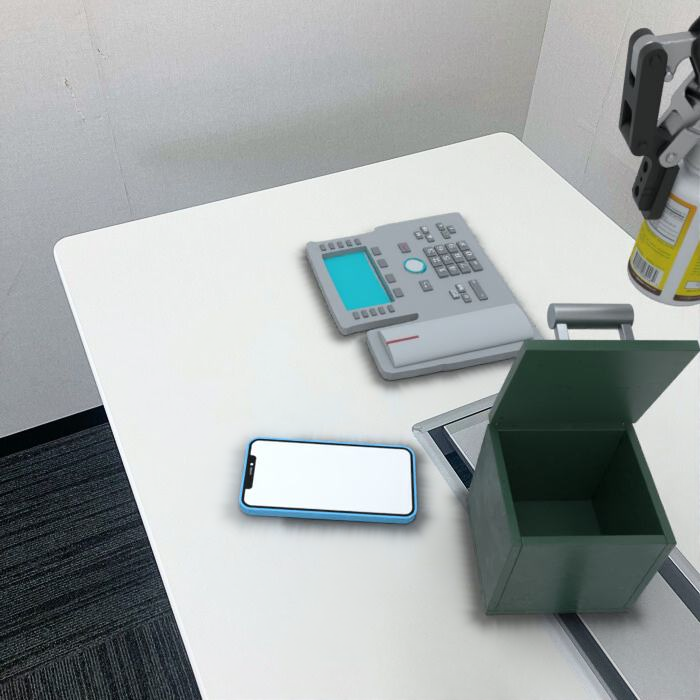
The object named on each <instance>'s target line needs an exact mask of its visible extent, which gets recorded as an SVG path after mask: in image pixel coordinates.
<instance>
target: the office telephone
mask: <svg viewBox="0 0 700 700" xmlns="http://www.w3.org/2000/svg"><path fill="white" fill-rule="evenodd" d="M305 254H306V257H307V260H308V263H309V265H310V267H311V270H312V272H313V274H314V277H315V279H316V282H317V284H318V286H319V289H320V291H321V293H322V296H323V298H324V301H325V303H326V305H327V307H328V310H329V313H330V314H331V317H332V319H333V321H334V323H335V324H336V327H337V329H338V330H339V332H340V334H341V335H343V336H349V335H350V334H354V333H357V332H363V331H367V330H368V331H367V332H366V339H365V340H366V345H367V347H368V350H369V352H370V355H371V357H372V359H373V361H374V363H375V365H376V368H377V370H378V373H379V375H380V376H381V377H382V378H383V379H384V380H389V381H393V380H394V381H396V380H400V379H401V380H402V379H407V378H413V377H419V376H425V375H429V374H434V373H438V372H441V371H443V372H446V371H448V372H449V371H453V370H458V369H464V368H470V367H473V366H479V365H484V364H489V363H494V362H499V361H504V360H509V359H515V358H516V356H517V354H518V352H519V350H520V348H521V346H522V344H523V342H524V340H545V339H544V338H543V336H542V335H541V333H540V332H539V330H538V328H537V327H536V325H535V324H534V322H533V321H532V320H531V318H530V316H529V315H528V314H527V312H526V311H525V309H524V307H522V305H521V303H520V302H519V301H518V299H517V298H516V296H515V295H514V293H513V292H512V290H511V288H509V285H508V284H507V283H506V281H505V280H504V278H503V277H502V275H501V274H500V272H499V271H498V270H497V268H496V266H495V265H494V263H493V262H492V261H491V259H490V258H489V256H488V254H486V252H485V250H484V249H483V247H482V246H481V244H480V243H479V242H478V240H477V239H476V237H475V236H474V234H473V231H472V230H471V228H470V226H469V224H468V223H467V221H466V220H465V218H464V217H463V216H462V215H461V213H460V212H457V211H455V212H454V211H453V212H447V213H442V214H436V215H430V216H426V217H420V218H415V219H414V218H413V219H408V220H402V221H397V222H392V223H386V224H383V225H378V226H377V227H374V229H373V231H370V232H365V233H360V234H355V235H350V236H345V237H339V238H333V239H327V240H320V241H313V240H311V241H308V242H306V244H305Z"/></svg>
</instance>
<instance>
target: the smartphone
mask: <svg viewBox="0 0 700 700" xmlns="http://www.w3.org/2000/svg"><path fill="white" fill-rule="evenodd" d="M242 470H243V471H242V476H241V484H240V490H239V497H238V503H239V508H240V510H241V511H242V512H243V513H244V514H246V515H251V516H265V517H283V518H284V517H285V518H297V519H298V518H299V519H300V518H301V519H316V520H335V521H352V522H367V523H384V524H385V523H387V524H409V523H412V521H414V520H415V518H416V515H417V510H418V501H417V498H418V497H417V476H416V474H417V473H416V454H415V452H414V450H412V449H411V448H410V447H408V446H407V445H396V444H381V443H363V442H349V441H348V442H347V441H334V440H333V441H332V440H315V439H300V438H299V439H298V438H284V437H283V438H282V437H267V436H266V437H265V436H255V437H253V438H251V439H250V440H248V442H247V444H246V450H245V457H244V465H243V469H242Z"/></svg>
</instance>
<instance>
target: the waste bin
mask: <svg viewBox="0 0 700 700" xmlns="http://www.w3.org/2000/svg"><path fill="white" fill-rule="evenodd" d="M468 488H469V489H468V492H467V496H466V499H465V500H466V506H467V513H468V519H469V525H470V530H471V537H472V543H473V550H474V555H475V561H476V566H477V567H476V568H477V572H478V579H479V584H480V591H481V592H480V593H481V597H482V602H483V608H484V609H483V610H484V614H485V615H533V614H534V615H535V614H538V615H540V614H542V615H543V614H545V615H546V614H591V613H592V614H594V613H595V614H596V613H597V614H601V613H629V612H630V611H631V609H632V608H633V607H634V605H635V604H636V602H637V601H638V600H639V598H640V597H641V595H642V594H643V593H644V591H645V589H646V588H647V587H648V586H649V584H650V582H651V581H652V580H653V578H654V577H655V576H656V574H657V573H658V571H659V570H660V568H661V567H662V565H664V563H665V561H666V560H667V558H668V557H669V556H670V554H671V553H672V552H673V550H674V549H675V547H676V546H677V544H678V542H677V539H676V536H675V534H674V531H673V529H672V525H671V523H670V521H669V518H668V515H667V513H666V510H665V507H664V504H663V501H662V499H661V496H660V494H659V491H658V488H657V485H656V483H655V480H654V478H653V475H652V472H651V469H650V466H649V464H648V461H647V459H646V456H645V454H644V451H643V447H642V446H641V443H640V440H639V438H638V435H637V432H636V429H635V427H634V423H630V424H489V423H487V425H486V428H485V432H484V434H483V439H482V443H481V446H480V449H479V453H478V456H477V460H476V464H475V467H474V471H473V475H472V478H471V481H470V484H469V487H468Z"/></svg>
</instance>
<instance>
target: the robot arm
mask: <svg viewBox="0 0 700 700" xmlns="http://www.w3.org/2000/svg"><path fill="white" fill-rule="evenodd" d="M686 59H688V60H689V63H690V65H691V67H692V70H691V72H690V73H689V74H688V76H687V77H686V78H685V79H684V80H683V81H682V83H681V84H680V85H679V86H678V87H677V89H676V90H675V91H674V92H673V94H672V95H671V98H670V103H669V106H668V107H667V109H666V110H665V111H664V112H663V113H662V115H661V116H660V109H661V103H662V96H663V91H664V85H665V83H670V82H672V81H673V79H674V76H675V73H676V72H677V69H678V66H679V65H680V64H681V63H682V62H683V61H684V60H686ZM623 78H624V80H623V87H622V94H621V102H620V103H621V104H620V111H619V117H618V129H619V132H620V133H621V136H622V138H623V139H624V141H625V143H626V146H627V147H628V149H629V151H630V153H631V154H632V155H633V156H634V157H642V160H641V162H640V165H639V168H638V171H637V174H636V176H635V179H634V182H633V185H632V187H631V194H632V199H633V200H634V203H635V205H636V207H637V209H638V211H640V213H641V215H642V217H643V220H644V219H645V220H659V219H660V217H661V215H662V212H663V210H664V207H665V205H666V202H667V200H668V197H669V195H670V192H671V190H672V187H673V185H674V182H675V180H676V177H677V175H678V172H679V170H680V167H679V166H678V163H679V162H680V161H681V160H682V159H683V157H684V156H685V155H686V154H687V153H688V152H689V151H690V150H691V149H692V147H693V146H694V145H695V144H696V143H697V142H698V141H699V140H700V15H699V16H698V17H697V18H696V19H695V20H694V21H693V23H692V24H690V26H689V28H688V30H687V31H680V32H673V33H672V32H671V33H666V34H660V35H656V34H654V32H653V31H652V30H651V28H648V27H641V28H638V29H636V30H635V31H634V32H633V33H632V34H631V35H630V37H629V39H628V46H627V54H626V62H625V70H624V77H623Z"/></svg>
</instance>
